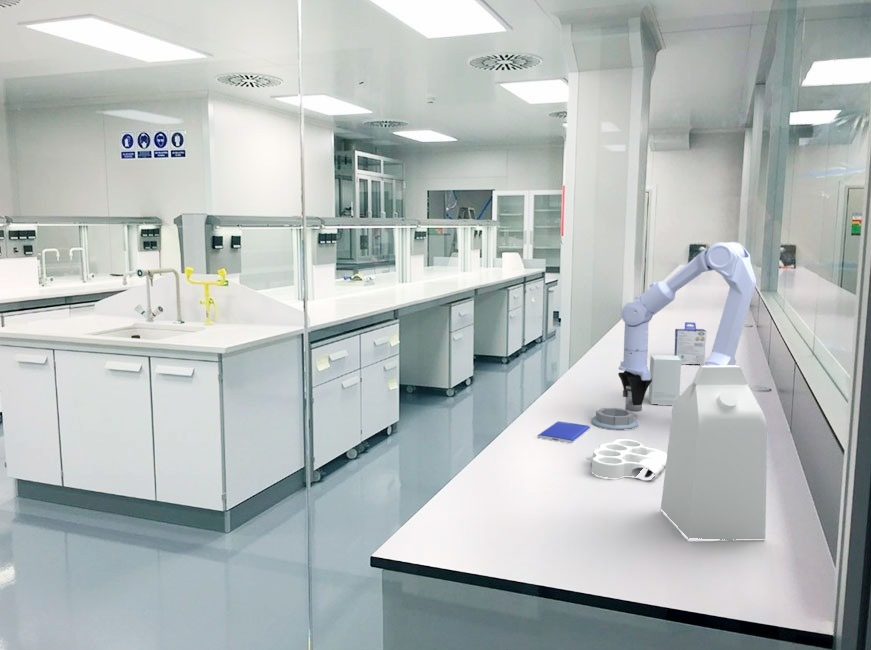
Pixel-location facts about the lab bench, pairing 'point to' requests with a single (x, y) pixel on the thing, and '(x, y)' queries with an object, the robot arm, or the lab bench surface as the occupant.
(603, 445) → the white holed flat tray
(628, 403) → the silver metal canister
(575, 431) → the hard drive
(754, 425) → the milk
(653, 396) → the supplement box
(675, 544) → the lab bench surface
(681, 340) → the ink cartridge box
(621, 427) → the collar
